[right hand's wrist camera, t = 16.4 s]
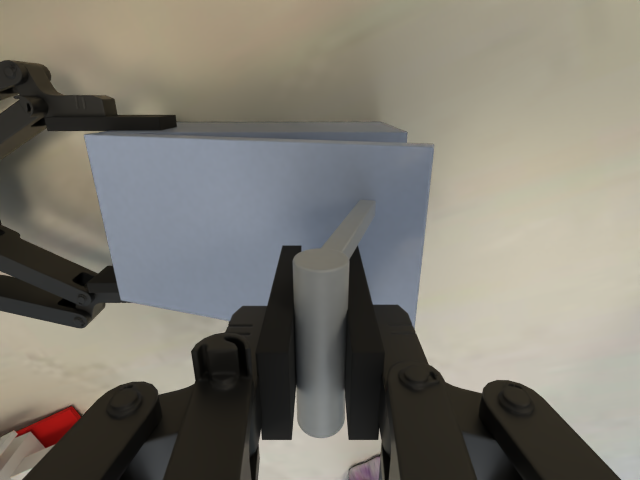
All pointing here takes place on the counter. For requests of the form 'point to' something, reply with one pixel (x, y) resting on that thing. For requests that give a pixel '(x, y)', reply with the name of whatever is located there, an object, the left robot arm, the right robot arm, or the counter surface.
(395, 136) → the chest
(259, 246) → the lid
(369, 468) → the figurine
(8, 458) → the toy
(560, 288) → the counter surface
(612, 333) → the counter surface
